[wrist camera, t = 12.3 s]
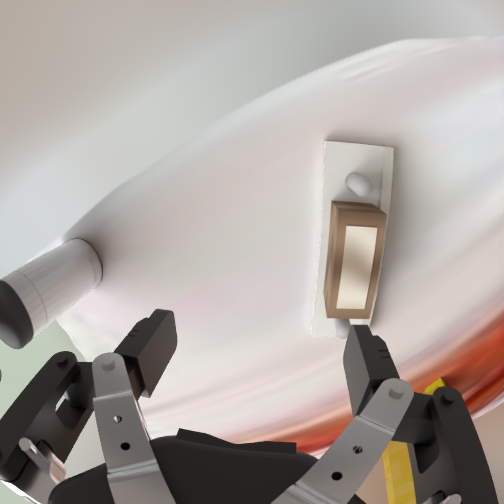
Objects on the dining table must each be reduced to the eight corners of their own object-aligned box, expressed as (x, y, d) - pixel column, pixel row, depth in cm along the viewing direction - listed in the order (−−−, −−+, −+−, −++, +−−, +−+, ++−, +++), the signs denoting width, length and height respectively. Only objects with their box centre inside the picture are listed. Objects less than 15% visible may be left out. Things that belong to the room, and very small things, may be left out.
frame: (359, 294, 35) (369, 319, 29) (323, 293, 36) (326, 318, 30) (371, 203, 31) (387, 214, 25) (331, 200, 32) (338, 211, 26)
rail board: (310, 330, 40) (311, 359, 34) (323, 141, 31) (330, 138, 25) (362, 331, 39) (370, 359, 33) (387, 147, 30) (406, 147, 24)
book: (440, 377, 40) (480, 484, 17) (451, 389, 41) (488, 486, 17) (371, 423, 46) (383, 528, 23) (387, 432, 47) (400, 528, 23)
